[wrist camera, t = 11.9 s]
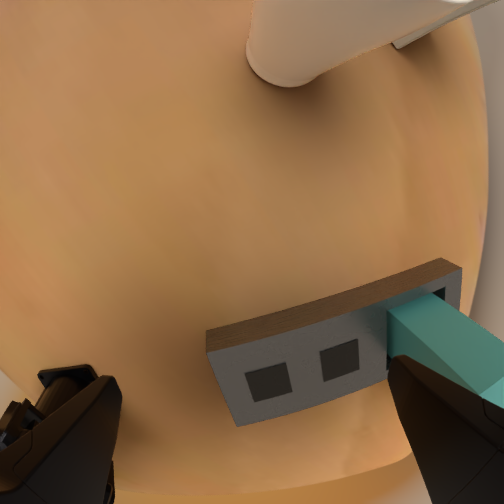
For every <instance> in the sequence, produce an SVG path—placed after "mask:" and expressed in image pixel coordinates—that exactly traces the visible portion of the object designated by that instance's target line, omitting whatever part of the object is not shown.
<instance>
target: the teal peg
mask: <svg viewBox="0 0 504 504" xmlns="http://www.w3.org/2000/svg"><path fill="white" fill-rule="evenodd" d="M386 321H387V354H388V355H389V356H390V357H391V358H393V357H394V356H397V355H402V354H405V355H407V356H409V357H411V358H412V359H414V360H416V361H418V362H419V363H421V364H423V365H425V366H427V367H428V368H430V369H432V370H434V371H436V372H437V373H439V374H441V375H443V376H444V377H446V378H448V379H450V380H452V381H453V382H455V383H457V384H459V385H461V386H463V387H464V388H466V389H468V390H470V391H472V392H473V393H475V394H477V395H479V396H481V397H482V398H485V399H486V400H488V401H490V402H492V403H494V404H496V405H498V406H500V407H502V408H504V343H503V342H502V341H501V340H500V339H498V338H497V337H495V336H494V335H493V334H491V333H490V332H488V331H487V330H486V329H484V328H483V327H481V326H480V325H478V324H477V323H476V322H474V321H473V320H471V319H470V318H468V317H467V316H466V315H464V314H463V313H461V312H460V311H458V310H457V309H455V308H454V307H452V306H451V305H449V304H448V303H446V302H445V301H443V300H442V299H440V298H439V297H437V296H436V295H434V294H433V293H429V294H427V295H425V296H422V297H420V298H417V299H415V300H413V301H410V302H408V303H405V304H403V305H400V306H398V307H395V308H393V309H390V310H388V311H386Z"/></svg>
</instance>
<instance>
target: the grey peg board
mask: <svg viewBox="0 0 504 504" xmlns="http://www.w3.org/2000/svg"><path fill="white" fill-rule="evenodd" d="M461 282H462V268H461V267H459V266H457V265H455V264H453V263H451V262H449V261H447V260H445V259H443V258H438V259H436V260H433V261H431V262H428V263H425V264H423V265H420V266H417V267H415V268H412V269H409V270H406V271H404V272H401V273H398V274H395V275H392V276H390V277H387V278H384V279H381V280H378V281H375V282H372V283H369V284H366V285H363V286H360V287H357V288H354V289H351V290H348V291H345V292H342V293H339V294H335V295H332V296H329V297H326V298H323V299H319V300H316V301H313V302H310V303H306V304H303V305H300V306H296V307H293V308H289V309H286V310H282V311H279V312H275V313H272V314H268V315H264V316H261V317H257V318H253V319H250V320H246V321H242V322H238V323H234V324H231V325H227V326H223V327H219V328H215V329H211V330H207V331H206V354H207V356H208V359H209V362H210V364H211V367H212V369H213V372H214V374H215V377H216V379H217V381H218V384H219V386H220V389H221V391H222V394H223V396H224V398H225V401H226V403H227V405H228V408H229V410H230V412H231V414H232V417H233V419H234V421H235V424H236V426H237V427H239V426H243V425H248V424H252V423H256V422H260V421H264V420H268V419H272V418H276V417H279V416H283V415H287V414H290V413H293V412H297V411H300V410H303V409H307V408H310V407H313V406H316V405H319V404H322V403H325V402H328V401H331V400H334V399H337V398H339V397H342V396H345V395H348V394H350V393H353V392H355V391H358V390H361V389H363V388H366V387H368V386H371V385H373V384H375V383H378V382H380V381H383V380H385V379H387V376H388V371H389V367H390V364H391V360H392V358H391V357H390V356H389V355H388V354H387V321H386V311H388V310H390V309H393V308H395V307H398V306H400V305H403V304H405V303H408V302H410V301H413V300H415V299H417V298H420V297H422V296H425V295H427V294H429V293H433V294H434V295H436V296H437V297H439V298H440V299H442V300H443V301H445V302H446V303H448V304H449V305H451V306H452V307H454V308H455V309H457V310H458V311H459V307H460V296H461Z"/></svg>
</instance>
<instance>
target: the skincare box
mask: <svg viewBox="0 0 504 504" xmlns="http://www.w3.org/2000/svg"><path fill="white" fill-rule="evenodd" d="M497 1H499V0H473V1H472V2H470V3H468V4H466V5H464V6H462V7H460V8H459V9H457V10H455V11H453V12H452V13H450V14H448V15H446V16H444V17H443V18H441V19H439V20H437V21H435V22H433V23H431V24H429V25H427V26H425V27H423V28H421V29H420V30H417V31H415V32H413V33H411V34H409V35H407V36H405V37H403V38H401V39H398V40H396V41H394V42H392V43H393V44H394V46H395V47H396V48H397V49H400V48H402V47H404V46H406V45H407V44H409V43H411V42H413V41H415V40H416V39H418V38H420V37H422V36H424V35H426V34H428V33H429V32H431V31H433V30H435V29H437V28H439V27H441V26H443V25H445V24H447V23H449V22H451V21H454V20H456V19H458V18H460V17H462V16H464V15H466V14H469V13H471V12H473V11H475V10H478V9H480V8H482V7H484V6H487V5H489V4H491V3H494V2H497Z"/></svg>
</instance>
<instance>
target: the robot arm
mask: <svg viewBox="0 0 504 504" xmlns="http://www.w3.org/2000/svg"><path fill="white" fill-rule="evenodd" d="M86 370H87V371H86ZM37 375H38V378H39V380H40V381H41V383H42V384H43V386H44V387H45V389H44V391H43V392H42V394H41V396H40V398H39V399H38V401H37V403H36V404H35V406H33V405H32V404H31V402H30V401H29V400H28V399H26V398H25V400H24V401H23V402H22V403H20V402H19V403H18V402H15V401H12V402H11V403H10V405H9V406H8V408H7V409H6V411H5V412H4V414H3V416H2V418H1V419H0V504H113V503H114V499H115V487H114V469H113V461H112V456H113V452H114V448H115V444H116V439H117V434H118V426H119V419H120V411H121V404H122V393H121V391H120V389H119V386H118V384H117V382H116V379H115V378H114V377H113V376H109V375H102V376H100V377H99V378H97V376H96V375H95V373H94V371H93V369H92V368H91V367H90V366H89V365H79V366H72V367H65V368H58V369H50V370H42V371H39V373H38V374H37ZM387 379H388V383H389V386H390V390H391V393H392V396H393V400H394V403H395V406H396V410H397V413H398V416H399V419H400V421H401V424H402V426H403V429H404V431H405V434H406V436H407V438H408V441H409V443H410V446H411V448H412V451H413V453H414V456H415V458H416V461H417V464H418V466H419V469H420V471H421V474H422V477H423V479H424V482H425V485H426V488H427V490H428V493H429V496H430V498H431V501H432V504H504V408H502V407H500V406H498V405H496V404H494V403H492V402H490V401H488V400H486V399H485V398H482V397H481V396H479V395H477V394H475V393H473V392H472V391H470V390H468V389H466V388H464V387H463V386H461V385H459V384H457V383H455V382H453V381H452V380H450V379H448V378H446V377H444V376H443V375H441V374H439V373H437V372H436V371H434V370H432V369H430V368H428V367H427V366H425V365H423V364H421V363H419V362H418V361H416V360H414V359H412V358H411V357H409V356H407V355H405V354H402V355H397V356H394V357H393V358H392V360H391V364H390V367H389V371H388V376H387Z"/></svg>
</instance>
